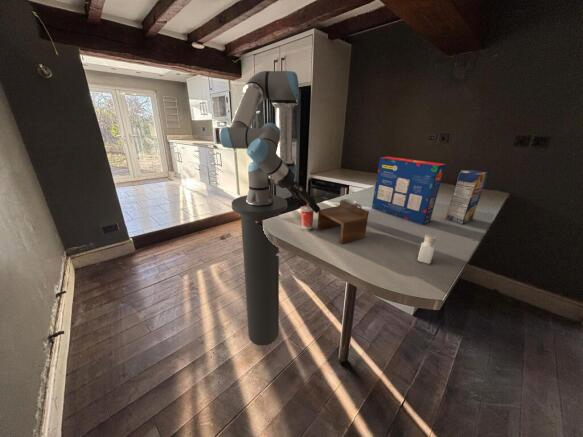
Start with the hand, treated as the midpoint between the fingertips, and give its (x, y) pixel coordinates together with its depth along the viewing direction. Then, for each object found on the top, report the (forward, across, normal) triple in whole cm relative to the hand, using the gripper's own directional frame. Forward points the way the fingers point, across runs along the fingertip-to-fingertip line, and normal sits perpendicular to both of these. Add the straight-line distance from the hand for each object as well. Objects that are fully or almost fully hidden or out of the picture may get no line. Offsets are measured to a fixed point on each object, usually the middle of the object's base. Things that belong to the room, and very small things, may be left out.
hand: (313, 208), depth 101 cm
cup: (+24, -2, +11) cm, 26 cm away
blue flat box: (+42, +9, +29) cm, 52 cm away
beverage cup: (+4, 0, -8) cm, 9 cm away
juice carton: (+58, +28, +45) cm, 78 cm away
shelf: (+12, +10, -1) cm, 16 cm away
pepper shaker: (+19, +42, +7) cm, 46 cm away
